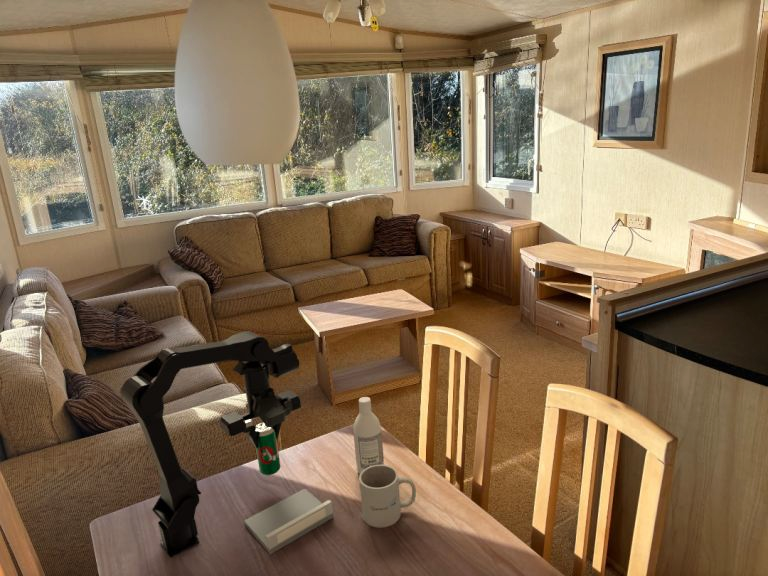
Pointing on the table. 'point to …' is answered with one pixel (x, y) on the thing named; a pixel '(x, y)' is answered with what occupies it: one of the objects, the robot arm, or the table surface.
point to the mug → (382, 495)
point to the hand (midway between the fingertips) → (266, 443)
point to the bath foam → (367, 437)
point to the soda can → (267, 450)
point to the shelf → (288, 520)
